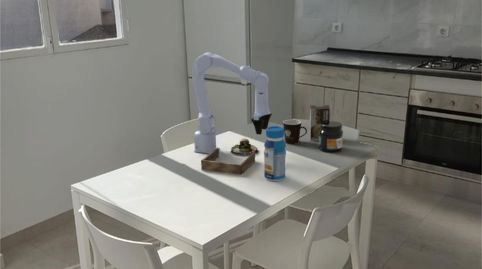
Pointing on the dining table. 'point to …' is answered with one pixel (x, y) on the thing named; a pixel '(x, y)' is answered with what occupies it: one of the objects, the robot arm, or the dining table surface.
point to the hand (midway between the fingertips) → (261, 131)
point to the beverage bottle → (274, 154)
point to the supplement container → (330, 136)
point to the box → (225, 164)
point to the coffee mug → (292, 131)
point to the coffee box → (318, 119)
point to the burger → (244, 147)
